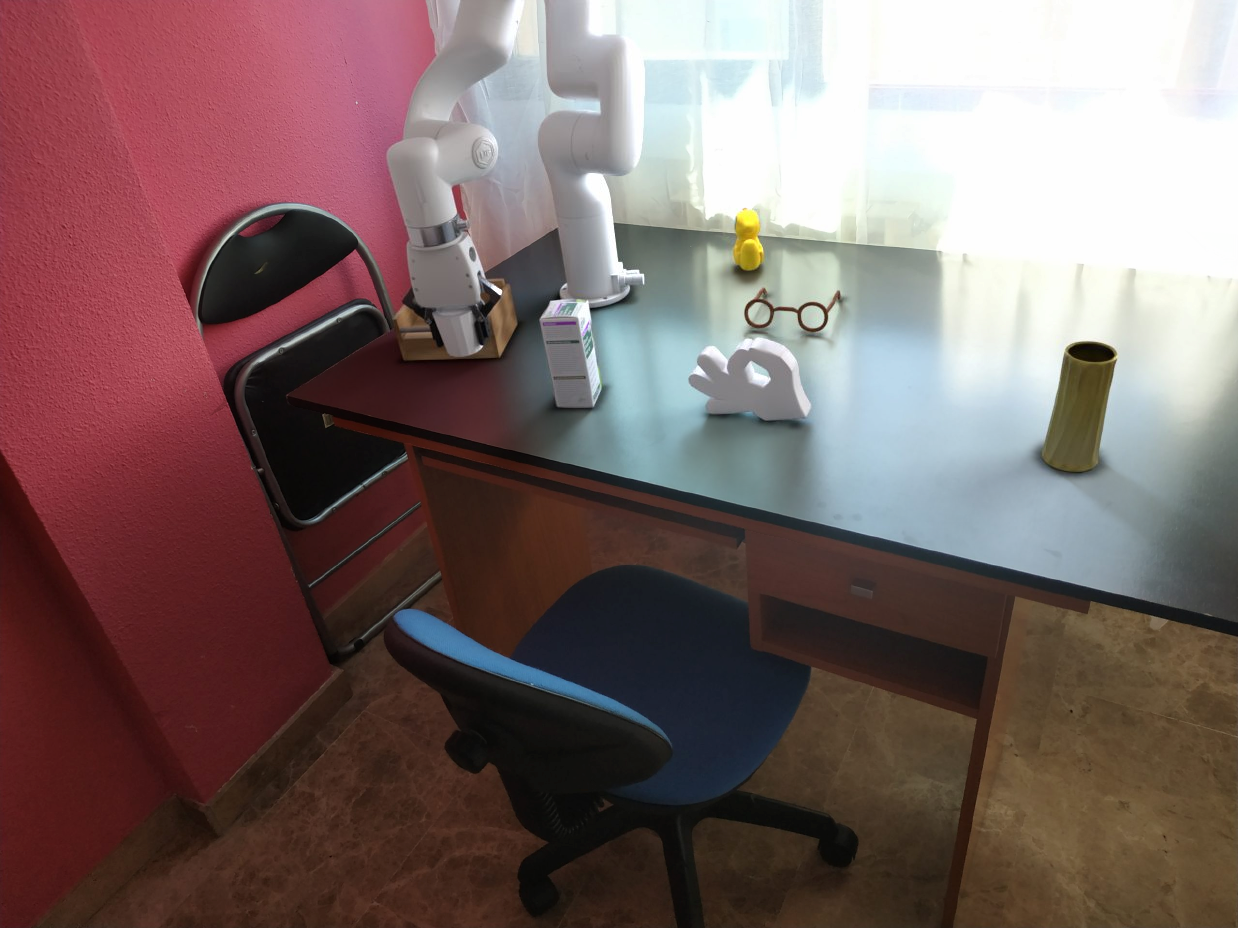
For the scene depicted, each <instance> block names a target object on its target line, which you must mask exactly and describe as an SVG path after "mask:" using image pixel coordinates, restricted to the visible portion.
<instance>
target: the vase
mask: <svg viewBox="0 0 1238 928" xmlns="http://www.w3.org/2000/svg"><path fill="white" fill-rule="evenodd" d="M1118 357H1119V356H1118V351H1117V350H1116V348H1114V347H1113V346H1112V345H1109V344H1107V343H1104V342H1100V341H1094V340H1083V341H1075V342H1072V343H1070V344H1069V345H1067V346H1066V347H1065V349H1064V353H1063V356H1062V361H1061V362H1062V363H1061V368H1060V373H1059V374H1060V375H1059V379H1058V386H1057V390H1056V393H1055V398H1054V404H1053V407H1052V412H1051V416H1050V418H1049V419H1050V420H1049V423H1048V427H1047V431H1046V435H1045V439H1044V444H1043V447H1042V448H1041V457H1042V459H1043V461H1044V462H1045V463H1046V464H1047V465H1049V466H1050V467H1051V468H1052V467H1053V468H1054V469H1057V470H1059V471H1064V472H1068V473H1070V472H1071V473H1081V472H1086V471H1090V470H1092V469H1094V468H1095V467H1096V466H1097V465H1098V463H1099V455H1100V454H1099V453H1100V448H1101V441H1102V436H1103V432H1104V426H1105V425H1104V424H1105V419H1106V412H1107V408H1108V402H1109V397H1110V391H1111V386H1112V384H1113V379H1114V373H1115V368H1116V365H1117V361H1118Z"/></svg>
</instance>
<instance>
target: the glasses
mask: <svg viewBox="0 0 1238 928" xmlns="http://www.w3.org/2000/svg"><path fill="white" fill-rule="evenodd" d="M762 295H764V296H767V289H766V287H764V286H762V288H761V289H760V290H759V291H758V292H757V294H756V295H755V297H754V298H753V299H751V300H750V301H748V302H747V303H746V304H745V307H744V311H743V316H744V319H745V322H746V323H747V324H748V325H749V326H750V327H752V328H755V329H765V328H767V327H768V326H770V325H771V324H772V322H773V320H774V316H775V312H779V311H780V312H792V313H796V315H797V316H796V317H797V322H798V325H799V327H800V328H801V329H802V330H804V331H806V332H809V333H817V332H818V333H819V332H821V331H822V330H824V329H825V327H826V326H827V325H828V321H829V313H830V312H831V310H832V309H833V307H835V304H836V302H837V300H841V298H842V295H841V290H840V289H839V290H838V289H837V290H836V292H835V293H834V296H833V298H832V300H831V301H830V303H829V304H828V306H827V307H826V306H825V305H824V304H822V303H820V302H819V301H807V302H804V303H803V304H802V305H800V306H799V307H798V308H795V307H794V306H777V307H774V305H773V304H772V303H771V302H770V301H768V300H767V299H765V298H761V297H762ZM756 303H761V304H764V305H765V306H767V308H768V309H769V318H768V320H767V321H766V322H765V323H762V324H761V323H755V322H753V321H752V320H751V318H750V317H749V310H750V308H752V307H753V306H754V305H755V304H756ZM807 307H808V308H809V307H817V308H819V309H820V310H821V311H822V313H823V317H824V318H823V322H822V324H820V326H818V327H809V326H807V325H805V323H804V322H803V320H802V319H803V318H802V312H803V310H804V309H805V308H807Z"/></svg>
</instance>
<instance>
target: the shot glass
mask: <svg viewBox="0 0 1238 928" xmlns="http://www.w3.org/2000/svg"><path fill="white" fill-rule="evenodd" d="M432 314H433V317H434V319H435V322H436V325H437V327H438V330H439V332H440V335H441V337H442V340H443V342H444V345H445V348H446V350H447V353H448V354H449V355H451V356H455V357H463V356H468V355H471V354H474V353H476V352H478V351H479V350H480V349H481V348H482V347H483V346H481V345H480V344H479V340H478V336H477V333H476V329H475V324H474V323H475V322H476V318H475V316H474V315H473V313H472V311H471V310H470V309H469V308H468V306H459V307H441V308H435V311H434V312H433V313H432Z"/></svg>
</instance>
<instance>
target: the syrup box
mask: <svg viewBox="0 0 1238 928" xmlns="http://www.w3.org/2000/svg"><path fill="white" fill-rule="evenodd" d="M591 317H592V316H591V310H590V308H589V304H588V301H587V300H581V299H565V300H561V299H557V300H550V301H549V303H548V305H547V307H546V308H545V310H544V311H543V313H542V315H541V316H540V318H539V325H540V330H541V335H542V341H543V346H544V350H545V355H546V360H547V365H548V369H549V370H548V371H549V375H550V380H551V385H552V389H553V395H554V400H555V405H556V407H557V408H566V409H569V408H570V409H571V408H572V409H577V408H578V409H579V408H581V409H582V408H584V409H585V408H586V409H588V408H591V409H592V408H594V407H595V405H596V402H597V401H598V398H599V396H600V393H601V391H602V388H603V384H602V376H601V371H600V365H599V359H598V353H597V347H596V342H595V334H594V329H593V323H592V318H591Z"/></svg>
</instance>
